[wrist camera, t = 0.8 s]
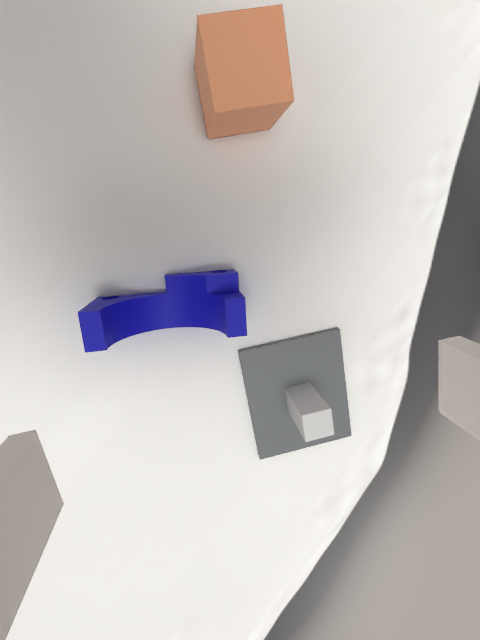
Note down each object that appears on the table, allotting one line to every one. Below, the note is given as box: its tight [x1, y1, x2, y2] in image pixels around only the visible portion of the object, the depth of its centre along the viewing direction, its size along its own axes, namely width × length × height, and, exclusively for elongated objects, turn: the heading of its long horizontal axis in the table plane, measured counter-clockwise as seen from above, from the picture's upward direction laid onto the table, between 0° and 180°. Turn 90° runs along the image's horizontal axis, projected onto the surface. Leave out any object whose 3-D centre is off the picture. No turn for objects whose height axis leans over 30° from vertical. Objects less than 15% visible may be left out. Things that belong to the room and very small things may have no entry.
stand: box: [238, 328, 351, 459], centre depth 33 cm, size 12×10×6 cm
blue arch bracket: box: [78, 269, 247, 352], centre depth 29 cm, size 12×4×6 cm, turn 93°
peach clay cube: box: [194, 4, 294, 139], centre depth 25 cm, size 5×5×7 cm
